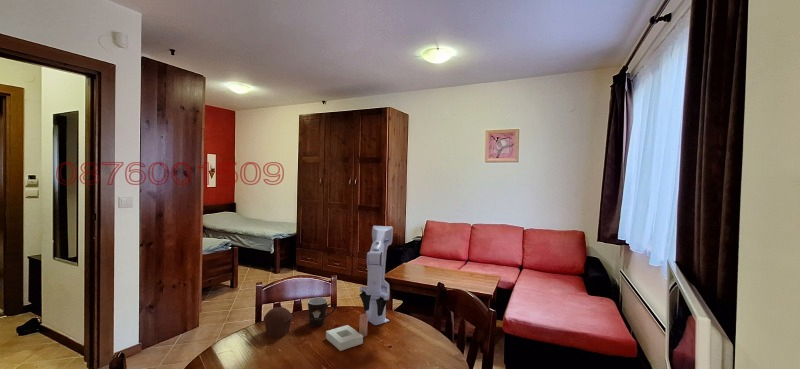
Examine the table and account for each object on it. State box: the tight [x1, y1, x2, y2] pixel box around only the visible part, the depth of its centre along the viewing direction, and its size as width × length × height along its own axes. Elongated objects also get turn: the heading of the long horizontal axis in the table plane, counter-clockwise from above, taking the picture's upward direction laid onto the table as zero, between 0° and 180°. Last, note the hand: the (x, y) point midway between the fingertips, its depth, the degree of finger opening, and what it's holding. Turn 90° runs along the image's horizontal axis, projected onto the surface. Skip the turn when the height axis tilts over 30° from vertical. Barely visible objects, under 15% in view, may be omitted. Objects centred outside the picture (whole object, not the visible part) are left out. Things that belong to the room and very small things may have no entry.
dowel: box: [358, 313, 369, 338], centre depth 136 cm, size 3×3×8 cm
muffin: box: [263, 306, 293, 338], centre depth 135 cm, size 12×11×10 cm
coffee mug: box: [307, 297, 336, 327], centre depth 145 cm, size 12×9×10 cm
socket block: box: [325, 324, 364, 352], centre depth 130 cm, size 12×10×3 cm
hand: (373, 312), depth 135 cm, fingers open, 7 cm apart
